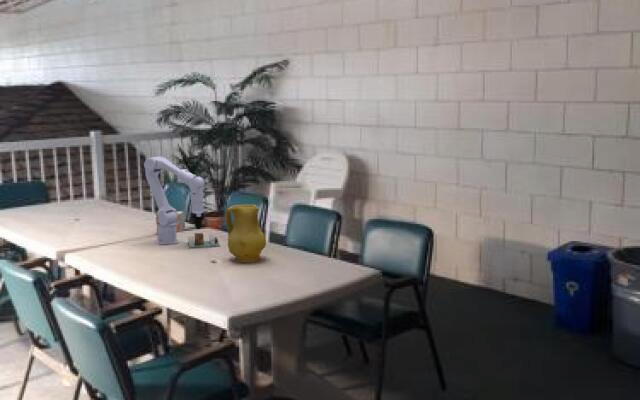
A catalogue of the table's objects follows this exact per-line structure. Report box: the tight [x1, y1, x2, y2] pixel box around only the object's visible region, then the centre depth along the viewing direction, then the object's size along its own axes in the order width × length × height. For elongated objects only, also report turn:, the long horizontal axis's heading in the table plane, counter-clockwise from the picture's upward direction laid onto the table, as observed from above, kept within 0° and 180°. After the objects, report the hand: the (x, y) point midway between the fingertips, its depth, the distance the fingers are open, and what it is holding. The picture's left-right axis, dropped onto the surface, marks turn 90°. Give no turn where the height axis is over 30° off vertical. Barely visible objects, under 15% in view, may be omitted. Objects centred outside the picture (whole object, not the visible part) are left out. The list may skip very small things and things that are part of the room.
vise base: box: [187, 235, 221, 249], centre depth 325 cm, size 15×12×4 cm
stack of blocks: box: [155, 208, 186, 236], centre depth 358 cm, size 21×6×12 cm, turn 166°
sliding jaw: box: [208, 234, 219, 245], centre depth 326 cm, size 4×10×3 cm, turn 15°
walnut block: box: [194, 232, 205, 245], centre depth 324 cm, size 4×5×5 cm
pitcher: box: [224, 204, 267, 264], centre depth 295 cm, size 17×19×25 cm
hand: (198, 228), depth 323 cm, fingers closed
